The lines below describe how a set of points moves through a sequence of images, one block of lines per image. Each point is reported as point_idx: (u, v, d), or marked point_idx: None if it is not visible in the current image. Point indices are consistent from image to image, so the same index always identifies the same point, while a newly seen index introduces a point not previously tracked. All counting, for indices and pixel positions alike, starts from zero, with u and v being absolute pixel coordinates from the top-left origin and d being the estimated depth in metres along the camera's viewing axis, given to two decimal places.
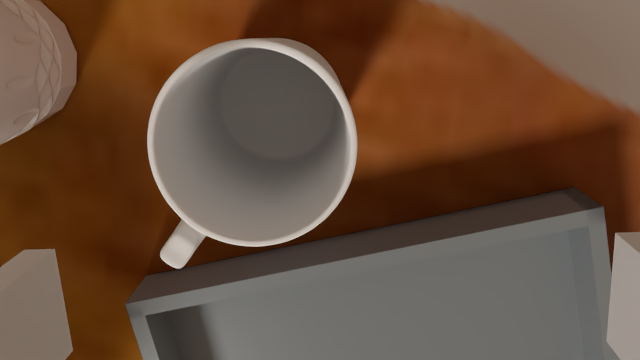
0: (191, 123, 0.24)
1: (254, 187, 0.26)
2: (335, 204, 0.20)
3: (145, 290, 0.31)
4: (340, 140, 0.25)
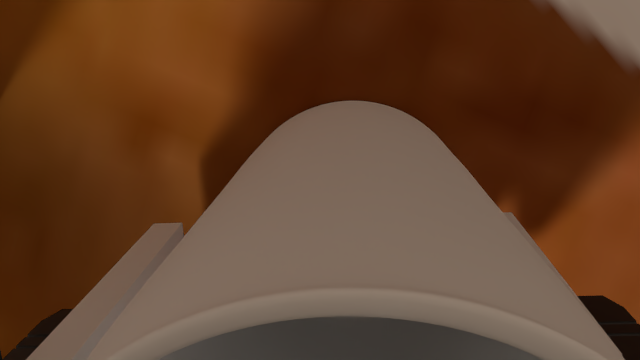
0: None
1: None
2: None
3: None
4: None
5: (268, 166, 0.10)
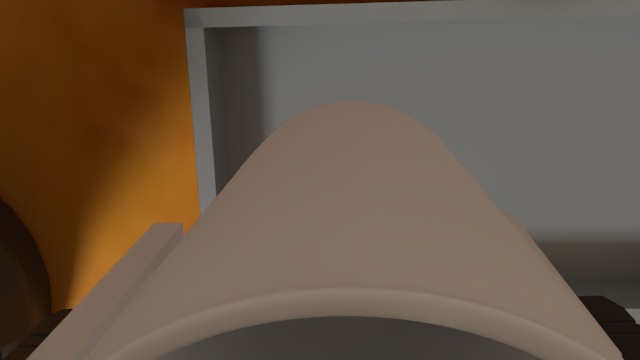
0: None
1: None
2: None
3: None
4: None
5: (268, 166, 0.10)
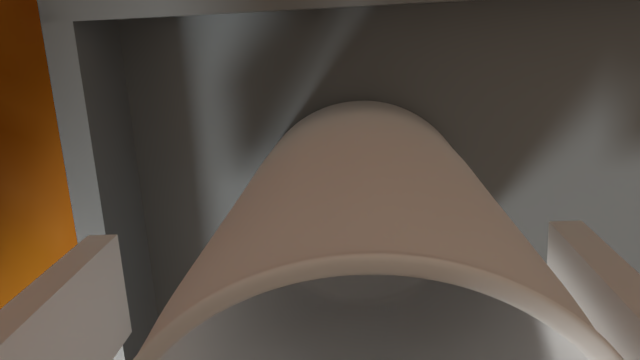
0: None
1: None
2: None
3: None
4: None
5: (287, 164, 0.11)
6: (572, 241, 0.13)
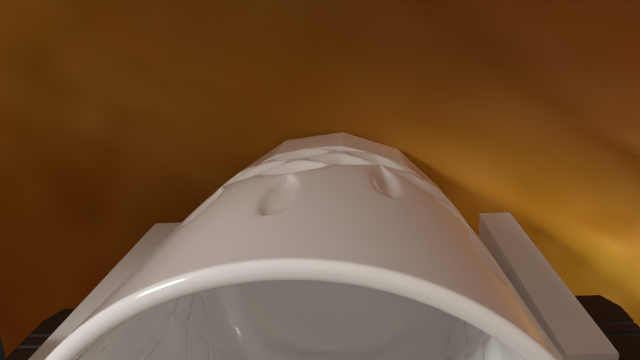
0: None
1: None
2: None
3: None
4: None
5: None
6: (494, 231, 0.14)
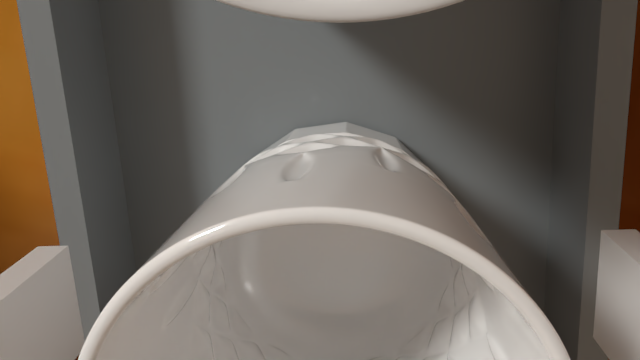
0: None
1: None
2: None
3: None
4: None
5: None
6: (631, 252, 0.12)
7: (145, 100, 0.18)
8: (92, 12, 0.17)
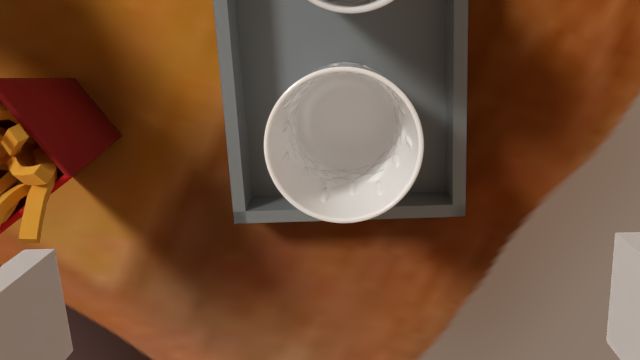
0: None
1: None
2: None
3: None
4: (329, 2, 0.31)
5: None
6: None
7: (256, 52, 0.39)
8: (235, 11, 0.38)
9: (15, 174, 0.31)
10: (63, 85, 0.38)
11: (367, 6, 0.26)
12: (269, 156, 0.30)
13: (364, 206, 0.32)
